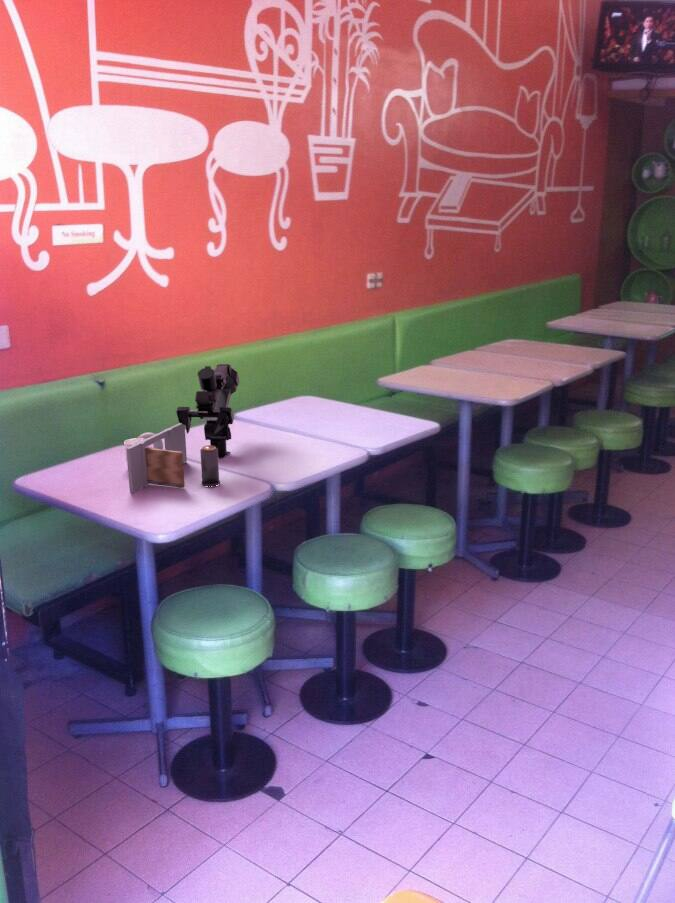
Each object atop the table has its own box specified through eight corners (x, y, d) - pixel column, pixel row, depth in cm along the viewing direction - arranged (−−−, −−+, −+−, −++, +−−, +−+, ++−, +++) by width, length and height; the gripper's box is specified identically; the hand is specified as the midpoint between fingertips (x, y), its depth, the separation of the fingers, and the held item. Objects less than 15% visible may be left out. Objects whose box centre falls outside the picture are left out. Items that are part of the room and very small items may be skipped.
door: (145, 483, 282) (142, 448, 278) (147, 482, 283) (145, 447, 280) (182, 488, 277) (180, 452, 274) (184, 487, 278) (182, 451, 275)
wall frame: (182, 462, 306) (180, 421, 301) (188, 462, 305) (186, 422, 300) (128, 492, 275) (124, 448, 271) (134, 493, 274) (131, 448, 270)
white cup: (152, 469, 297) (150, 442, 295) (131, 473, 293) (128, 445, 290) (144, 463, 304) (142, 436, 301) (122, 467, 299) (120, 440, 297)
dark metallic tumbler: (207, 480, 286) (205, 443, 282) (223, 482, 284) (221, 445, 280) (198, 486, 281) (196, 448, 277) (214, 488, 279) (212, 450, 275)
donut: (135, 460, 307) (133, 434, 304) (136, 458, 310) (134, 431, 307) (163, 460, 308) (161, 433, 305) (164, 457, 311) (162, 430, 308)
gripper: (178, 382, 290) (168, 415, 280) (232, 383, 289) (224, 416, 278) (183, 406, 299) (174, 438, 288) (236, 407, 297) (229, 439, 286)
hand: (200, 432), depth 285 cm, fingers open, 9 cm apart
